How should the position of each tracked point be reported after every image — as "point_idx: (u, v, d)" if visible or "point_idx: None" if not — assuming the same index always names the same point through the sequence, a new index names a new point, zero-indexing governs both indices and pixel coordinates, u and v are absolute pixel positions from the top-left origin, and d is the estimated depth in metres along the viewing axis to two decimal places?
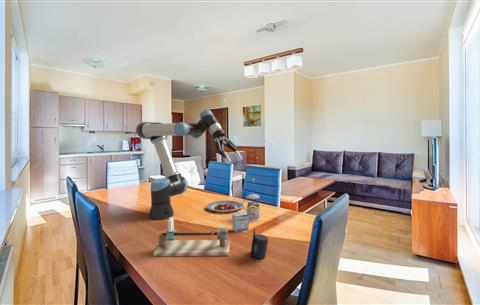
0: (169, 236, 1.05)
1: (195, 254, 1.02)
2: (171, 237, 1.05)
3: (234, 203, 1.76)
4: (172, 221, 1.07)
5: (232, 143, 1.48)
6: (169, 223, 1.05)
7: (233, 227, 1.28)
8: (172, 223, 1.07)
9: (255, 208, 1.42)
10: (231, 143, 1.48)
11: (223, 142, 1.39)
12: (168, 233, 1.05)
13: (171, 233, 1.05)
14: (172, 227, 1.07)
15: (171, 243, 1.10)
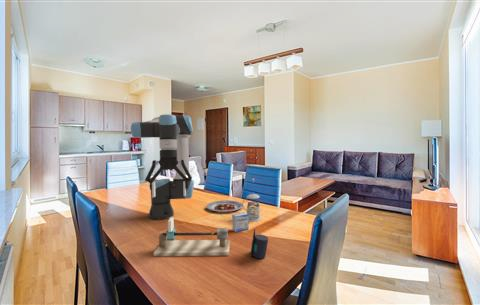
0: (169, 236, 1.05)
1: (195, 254, 1.02)
2: (171, 237, 1.05)
3: (234, 203, 1.76)
4: (172, 221, 1.07)
5: (184, 170, 1.07)
6: (169, 223, 1.05)
7: (233, 227, 1.28)
8: (172, 223, 1.07)
9: (255, 208, 1.42)
10: (183, 169, 1.08)
11: (160, 169, 1.06)
12: (168, 233, 1.05)
13: (171, 233, 1.05)
14: (172, 227, 1.07)
15: (171, 243, 1.10)
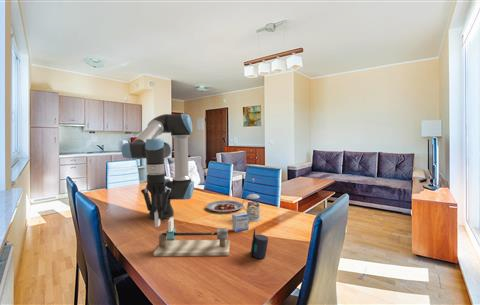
0: (169, 236, 1.05)
1: (195, 254, 1.02)
2: (171, 237, 1.05)
3: (234, 203, 1.76)
4: (172, 221, 1.07)
5: (164, 199, 1.05)
6: (169, 223, 1.05)
7: (233, 227, 1.28)
8: (172, 223, 1.07)
9: (255, 208, 1.42)
10: (164, 197, 1.05)
11: (152, 195, 1.04)
12: (168, 233, 1.05)
13: (171, 233, 1.05)
14: (172, 227, 1.07)
15: (171, 243, 1.10)
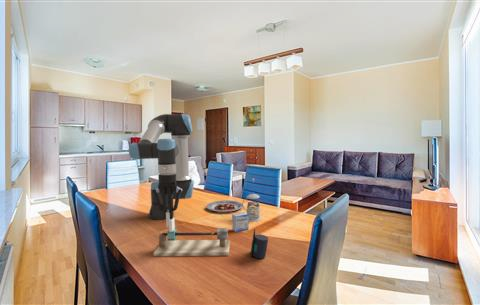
0: (170, 236, 1.05)
1: (195, 254, 1.02)
2: (172, 237, 1.05)
3: (234, 203, 1.76)
4: (173, 221, 1.07)
5: (175, 199, 1.05)
6: (170, 223, 1.05)
7: (233, 227, 1.28)
8: (173, 223, 1.07)
9: (255, 208, 1.42)
10: (175, 198, 1.05)
11: (163, 195, 1.04)
12: (169, 233, 1.05)
13: (172, 233, 1.05)
14: (173, 227, 1.07)
15: (171, 243, 1.10)
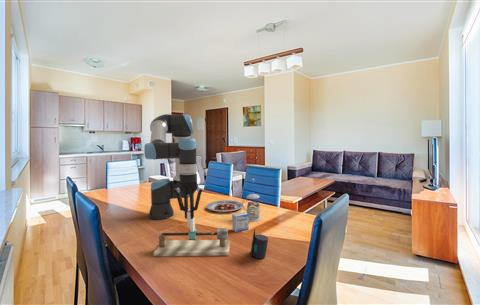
0: (191, 236, 1.05)
1: (195, 254, 1.02)
2: (193, 237, 1.05)
3: (234, 203, 1.76)
4: (194, 221, 1.07)
5: (196, 199, 1.05)
6: (191, 223, 1.05)
7: (233, 227, 1.28)
8: (194, 223, 1.07)
9: (255, 208, 1.42)
10: None
11: (185, 195, 1.04)
12: (190, 233, 1.05)
13: (193, 233, 1.05)
14: (194, 227, 1.07)
15: (171, 243, 1.10)
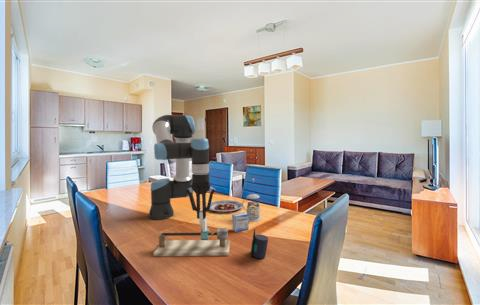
0: (203, 236, 1.05)
1: (195, 254, 1.02)
2: (205, 237, 1.05)
3: (234, 203, 1.76)
4: (206, 221, 1.07)
5: None
6: (203, 223, 1.05)
7: (233, 227, 1.28)
8: (206, 223, 1.07)
9: (255, 208, 1.42)
10: (209, 197, 1.05)
11: (197, 195, 1.04)
12: (202, 233, 1.05)
13: (205, 233, 1.05)
14: (206, 227, 1.07)
15: (171, 243, 1.10)
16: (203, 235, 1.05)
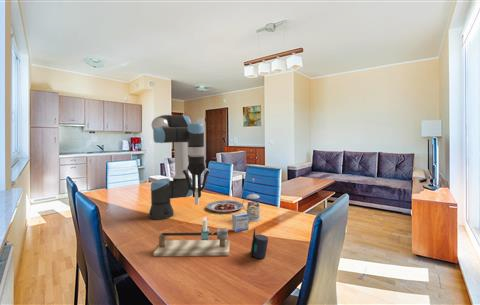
0: (204, 236, 1.05)
1: (195, 254, 1.02)
2: (206, 237, 1.05)
3: (234, 203, 1.76)
4: (206, 221, 1.07)
5: None
6: (204, 223, 1.05)
7: (233, 227, 1.28)
8: (206, 223, 1.07)
9: (255, 208, 1.42)
10: None
11: (193, 175, 1.13)
12: (203, 233, 1.05)
13: (206, 233, 1.05)
14: (206, 227, 1.07)
15: (171, 243, 1.10)
16: (203, 235, 1.05)
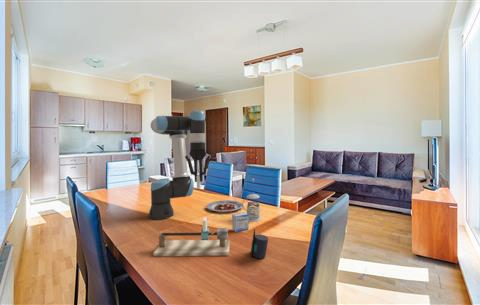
0: (204, 236, 1.05)
1: (195, 254, 1.02)
2: (206, 237, 1.05)
3: (234, 203, 1.76)
4: (206, 221, 1.07)
5: (205, 164, 1.20)
6: (204, 223, 1.05)
7: (233, 227, 1.28)
8: (206, 223, 1.07)
9: (255, 208, 1.42)
10: (205, 163, 1.20)
11: (195, 161, 1.19)
12: (203, 233, 1.05)
13: (206, 233, 1.05)
14: (206, 227, 1.07)
15: (171, 243, 1.10)
16: (203, 235, 1.05)
